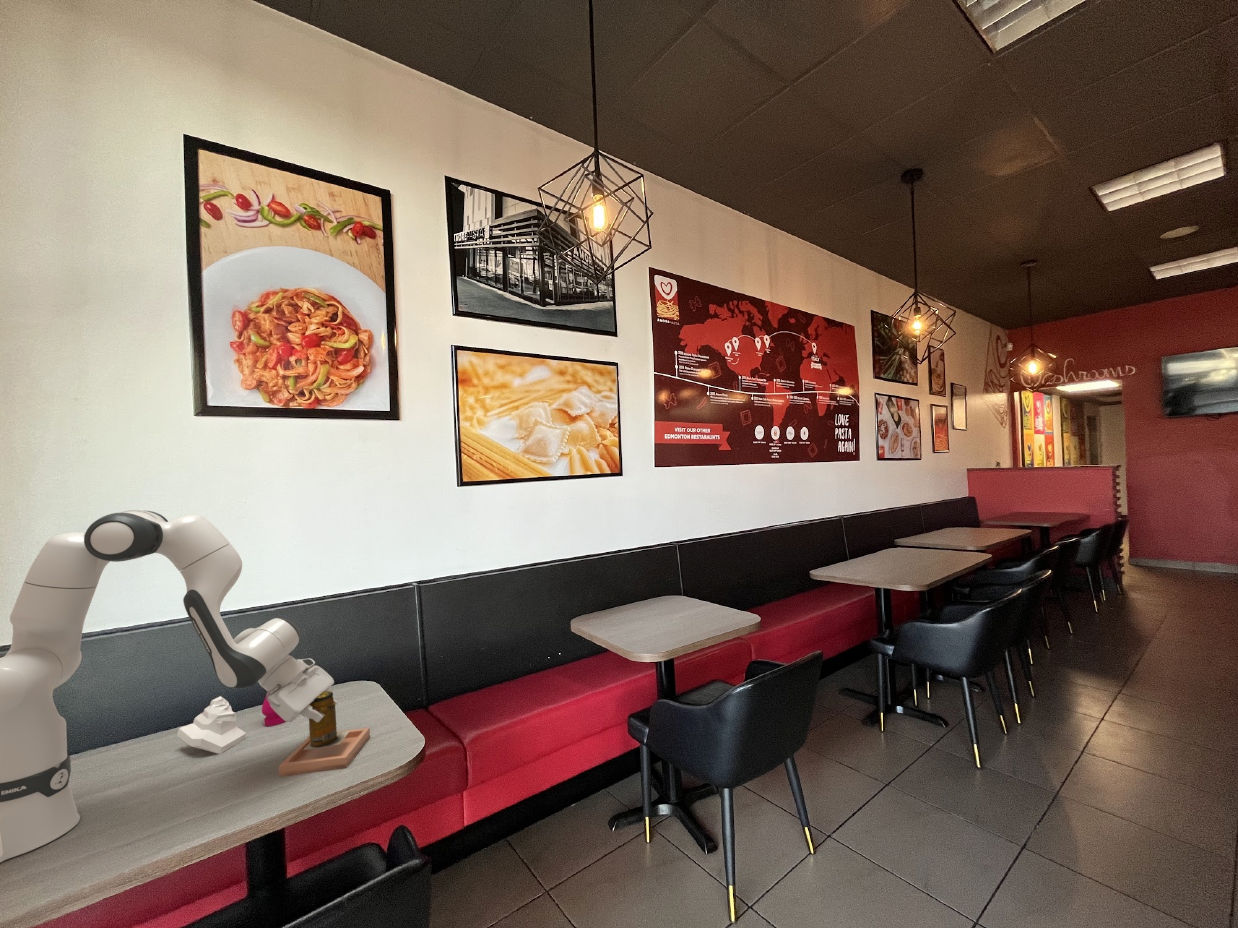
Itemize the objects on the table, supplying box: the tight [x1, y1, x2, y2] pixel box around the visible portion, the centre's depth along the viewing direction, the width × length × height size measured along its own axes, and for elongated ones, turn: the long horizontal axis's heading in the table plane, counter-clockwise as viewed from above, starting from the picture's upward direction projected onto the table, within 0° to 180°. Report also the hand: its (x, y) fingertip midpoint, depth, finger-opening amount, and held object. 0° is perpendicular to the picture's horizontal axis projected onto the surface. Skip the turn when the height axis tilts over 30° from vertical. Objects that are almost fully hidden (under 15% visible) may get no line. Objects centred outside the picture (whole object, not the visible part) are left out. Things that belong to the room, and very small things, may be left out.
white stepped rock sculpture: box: [177, 695, 247, 755], centre depth 141 cm, size 12×15×14 cm
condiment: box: [303, 690, 349, 750], centre depth 131 cm, size 7×8×12 cm
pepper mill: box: [261, 690, 286, 727], centre depth 154 cm, size 7×7×20 cm
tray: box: [278, 727, 371, 777], centre depth 131 cm, size 15×15×2 cm
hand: (328, 712), depth 131 cm, fingers closed on condiment, 6 cm apart
